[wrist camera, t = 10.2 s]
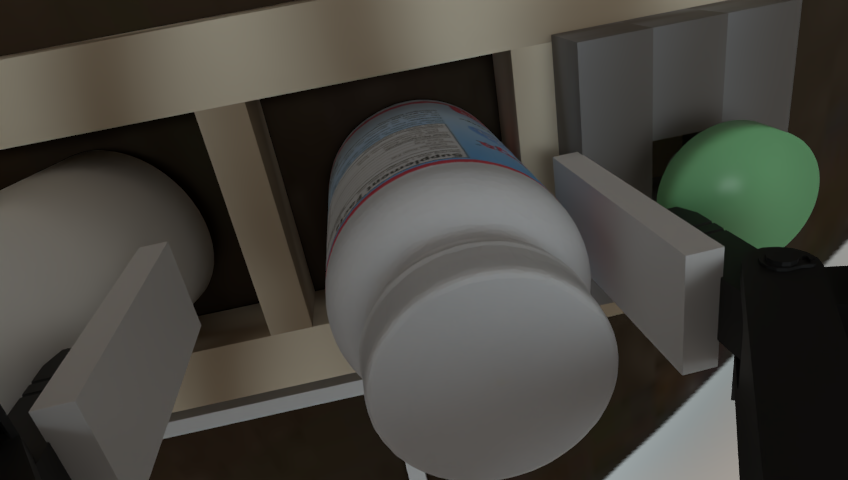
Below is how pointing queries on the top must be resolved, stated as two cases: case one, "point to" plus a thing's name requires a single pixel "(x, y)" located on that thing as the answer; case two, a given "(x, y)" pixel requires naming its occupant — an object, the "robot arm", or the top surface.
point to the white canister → (83, 251)
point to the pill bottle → (462, 297)
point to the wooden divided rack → (388, 53)
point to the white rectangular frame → (271, 407)
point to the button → (745, 181)
